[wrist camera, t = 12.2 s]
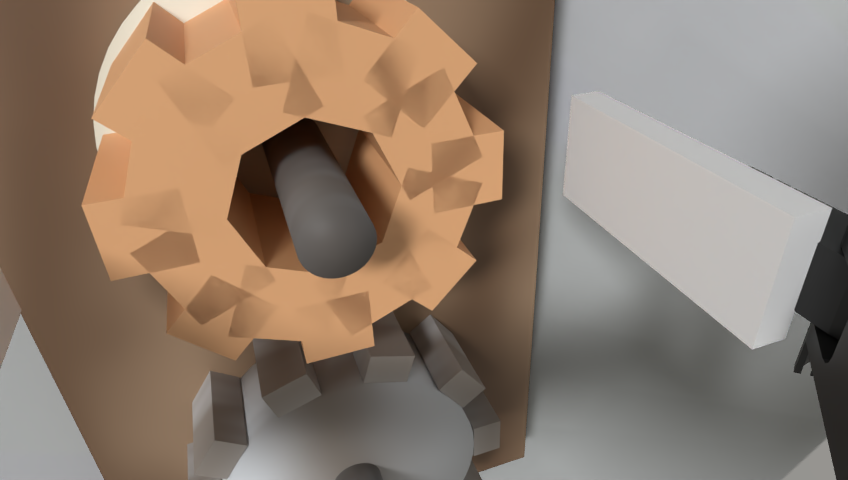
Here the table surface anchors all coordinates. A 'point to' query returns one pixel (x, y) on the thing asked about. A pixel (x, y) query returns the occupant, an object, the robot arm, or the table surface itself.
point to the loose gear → (262, 119)
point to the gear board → (135, 308)
